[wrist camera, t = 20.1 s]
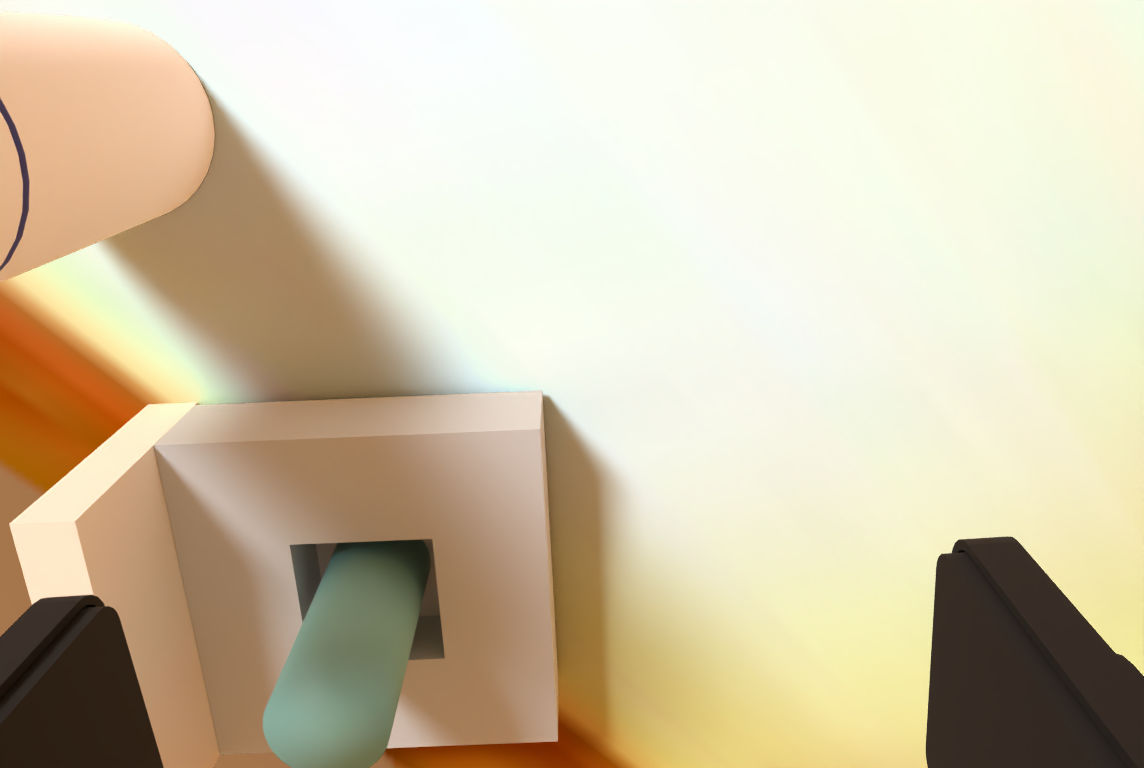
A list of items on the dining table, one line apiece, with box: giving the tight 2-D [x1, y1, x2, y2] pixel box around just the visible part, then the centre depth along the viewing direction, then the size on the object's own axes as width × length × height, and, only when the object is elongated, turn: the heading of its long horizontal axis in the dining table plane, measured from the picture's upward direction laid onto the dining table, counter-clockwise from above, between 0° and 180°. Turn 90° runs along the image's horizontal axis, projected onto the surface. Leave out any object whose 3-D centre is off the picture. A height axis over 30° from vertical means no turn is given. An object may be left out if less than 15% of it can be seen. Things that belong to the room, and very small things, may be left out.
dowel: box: [263, 539, 430, 768], centre depth 34 cm, size 4×4×10 cm
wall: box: [9, 402, 220, 768], centre depth 35 cm, size 2×14×10 cm, turn 3°
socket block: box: [154, 391, 558, 755], centre depth 38 cm, size 14×14×4 cm
